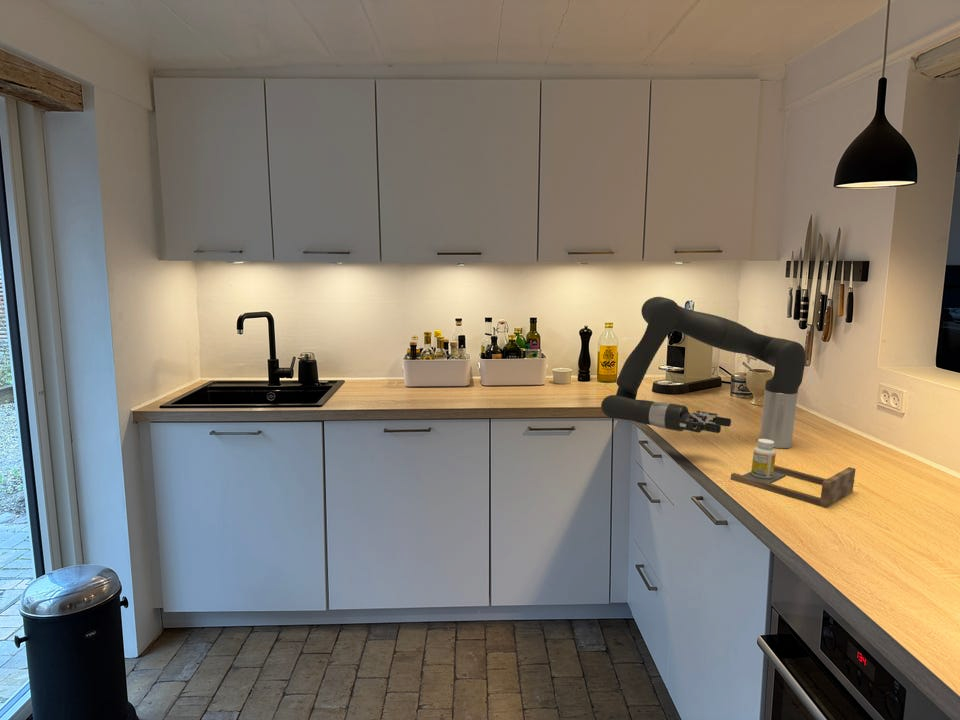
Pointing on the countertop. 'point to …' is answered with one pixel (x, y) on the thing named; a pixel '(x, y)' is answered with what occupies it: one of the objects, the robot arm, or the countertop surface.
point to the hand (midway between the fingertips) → (725, 425)
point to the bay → (831, 487)
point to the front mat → (775, 477)
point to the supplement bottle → (763, 459)
